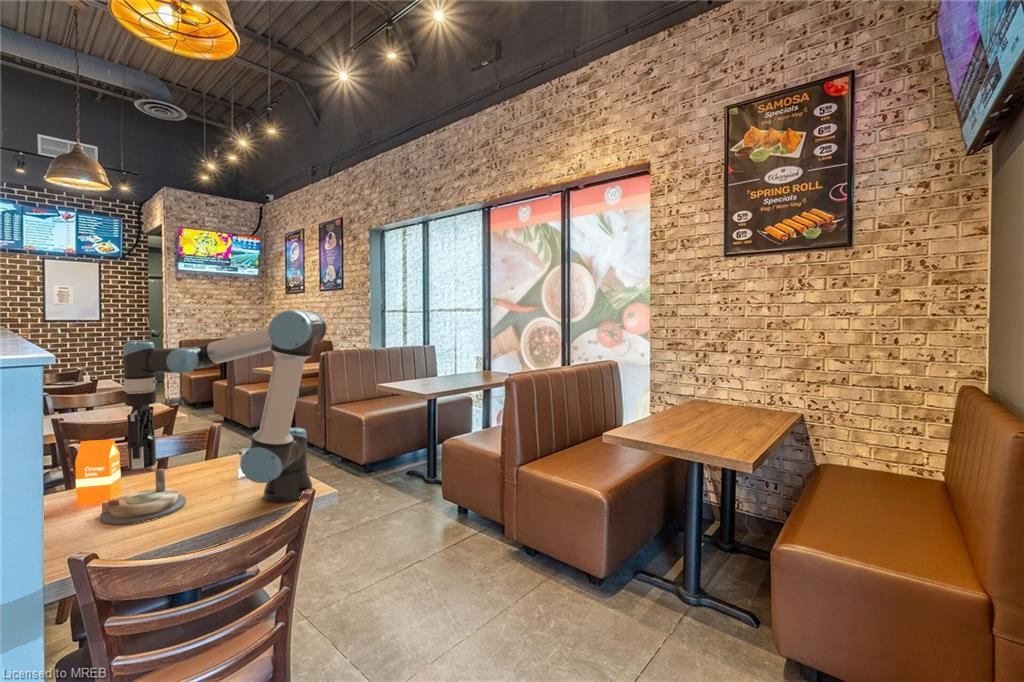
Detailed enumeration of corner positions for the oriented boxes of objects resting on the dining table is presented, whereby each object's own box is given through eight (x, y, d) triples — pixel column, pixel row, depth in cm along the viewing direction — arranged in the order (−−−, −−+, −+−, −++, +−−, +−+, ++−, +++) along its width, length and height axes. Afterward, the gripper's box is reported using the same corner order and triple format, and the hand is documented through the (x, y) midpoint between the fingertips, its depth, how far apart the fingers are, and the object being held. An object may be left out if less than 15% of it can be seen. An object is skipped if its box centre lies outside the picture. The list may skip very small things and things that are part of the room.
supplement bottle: (128, 465, 141) (127, 427, 141) (156, 461, 145) (155, 424, 145) (127, 471, 136) (126, 432, 135) (156, 467, 140) (155, 428, 140)
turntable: (140, 495, 151) (139, 467, 150) (190, 495, 151) (190, 468, 150) (92, 517, 134) (91, 486, 133) (149, 518, 134) (149, 487, 133)
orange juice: (88, 496, 152) (86, 438, 151) (121, 493, 155) (119, 436, 154) (76, 505, 145) (74, 444, 144) (110, 502, 148) (108, 442, 147)
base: (193, 493, 156) (193, 482, 156) (173, 518, 136) (173, 506, 136) (118, 501, 148) (117, 489, 148) (85, 530, 129) (84, 516, 129)
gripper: (143, 396, 132) (145, 473, 133) (165, 386, 150) (167, 454, 151) (110, 397, 129) (113, 476, 130) (137, 387, 147) (139, 456, 148)
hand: (142, 464), depth 141 cm, fingers closed on supplement bottle, 7 cm apart
